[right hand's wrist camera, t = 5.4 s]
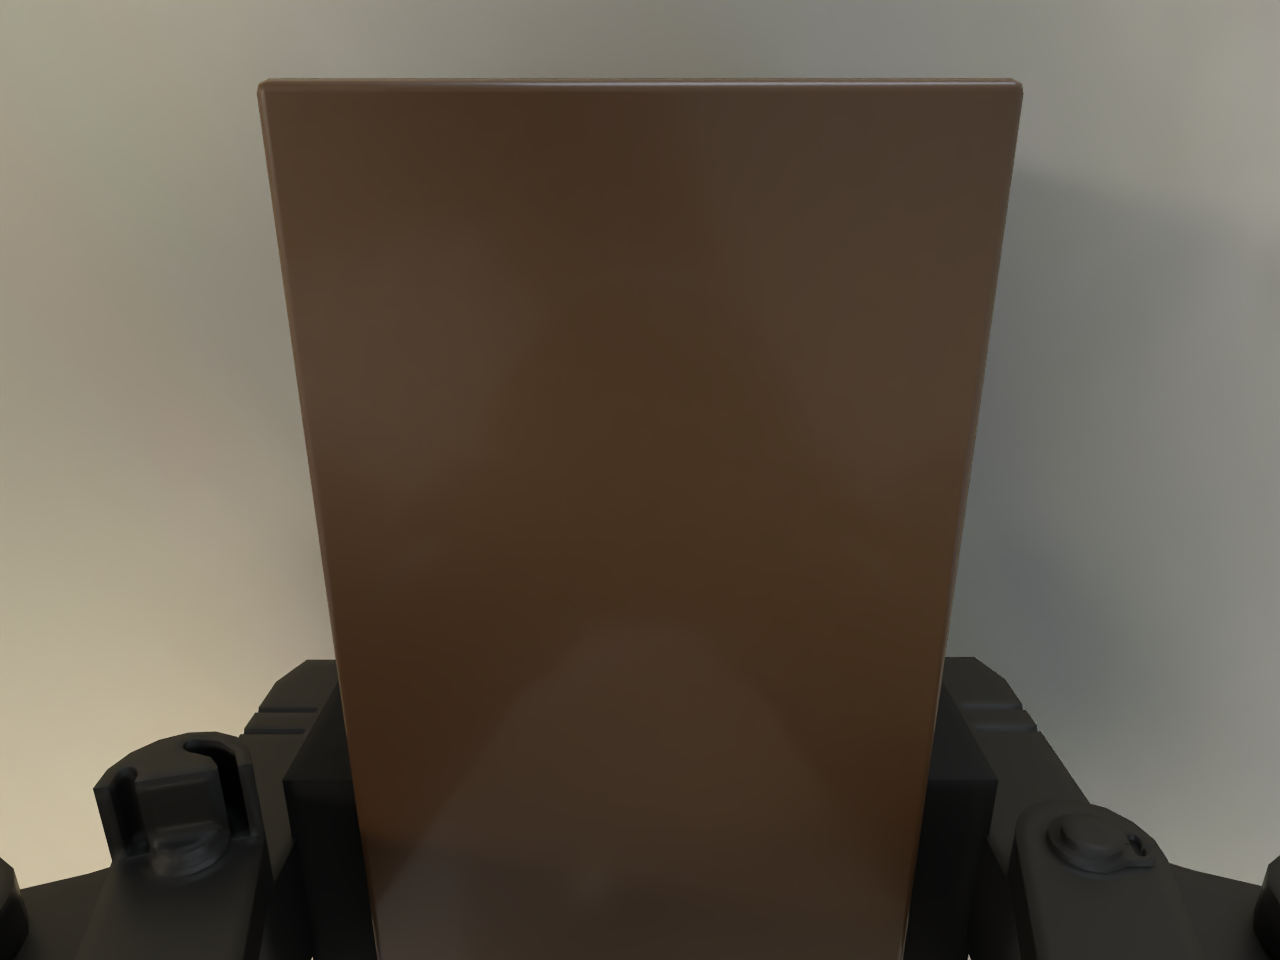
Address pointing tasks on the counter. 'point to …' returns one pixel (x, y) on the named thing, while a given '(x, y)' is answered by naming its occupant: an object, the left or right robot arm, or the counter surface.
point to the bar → (640, 491)
